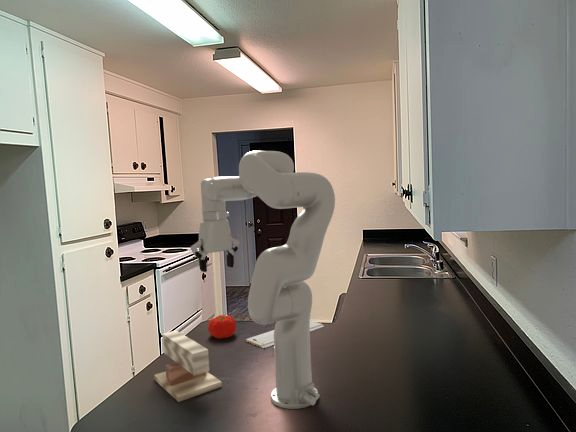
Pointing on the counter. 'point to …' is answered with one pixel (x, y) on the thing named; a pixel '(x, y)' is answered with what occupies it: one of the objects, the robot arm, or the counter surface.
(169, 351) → the birch bar
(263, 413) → the counter surface
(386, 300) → the counter surface
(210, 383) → the ridge stand
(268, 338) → the baseboard molding
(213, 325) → the tomato
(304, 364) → the robot arm
